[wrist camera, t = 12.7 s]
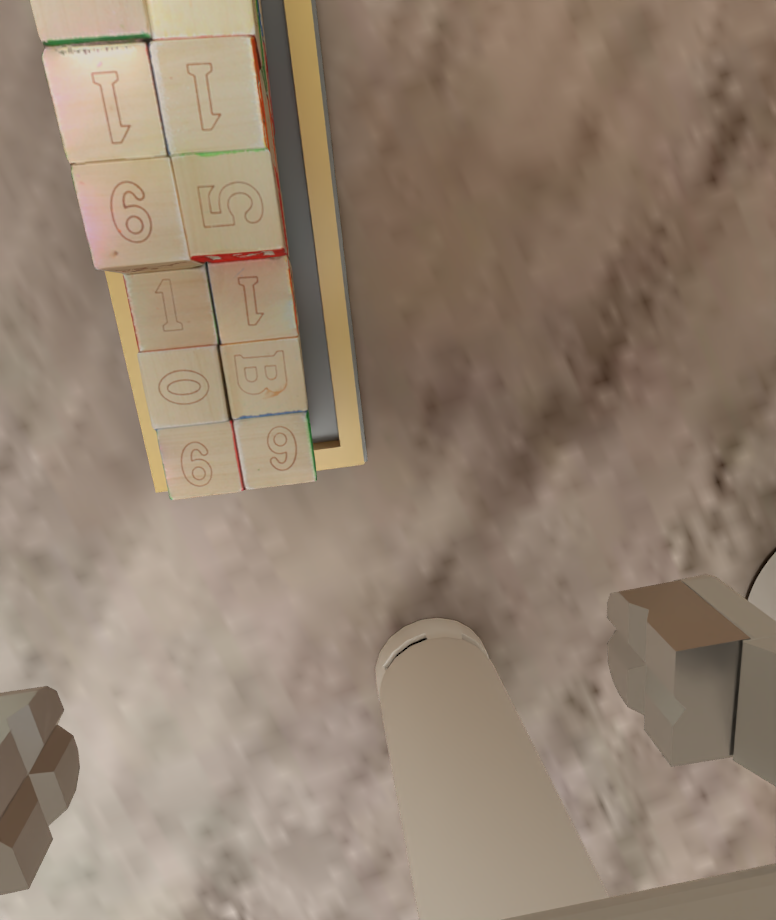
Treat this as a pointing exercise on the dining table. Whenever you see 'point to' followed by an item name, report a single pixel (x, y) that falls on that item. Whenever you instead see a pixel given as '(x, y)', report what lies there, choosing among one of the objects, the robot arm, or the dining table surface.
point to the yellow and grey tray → (295, 246)
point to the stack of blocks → (188, 225)
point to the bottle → (473, 785)
